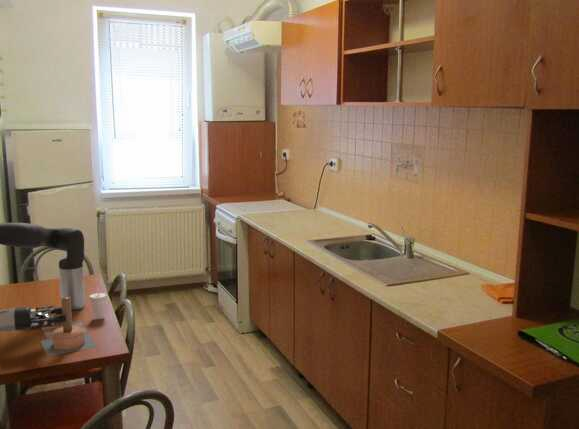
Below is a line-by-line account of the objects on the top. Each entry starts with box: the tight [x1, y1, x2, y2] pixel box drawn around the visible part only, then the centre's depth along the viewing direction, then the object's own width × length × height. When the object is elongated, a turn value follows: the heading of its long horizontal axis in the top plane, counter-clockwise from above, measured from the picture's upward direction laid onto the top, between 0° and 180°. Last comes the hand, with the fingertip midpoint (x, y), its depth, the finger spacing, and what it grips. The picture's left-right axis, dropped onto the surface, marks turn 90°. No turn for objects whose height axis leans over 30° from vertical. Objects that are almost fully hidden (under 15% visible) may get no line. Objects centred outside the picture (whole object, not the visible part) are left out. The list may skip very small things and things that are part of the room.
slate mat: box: [40, 332, 98, 357], centre depth 195 cm, size 15×16×1 cm
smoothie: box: [89, 283, 108, 320], centre depth 219 cm, size 6×6×14 cm
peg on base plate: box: [51, 297, 85, 350], centre depth 193 cm, size 10×10×17 cm
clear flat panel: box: [40, 319, 89, 340], centre depth 208 cm, size 14×14×1 cm
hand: (66, 314), depth 193 cm, fingers open, 8 cm apart
